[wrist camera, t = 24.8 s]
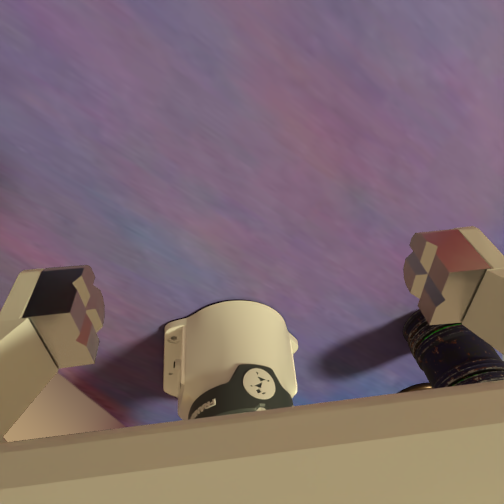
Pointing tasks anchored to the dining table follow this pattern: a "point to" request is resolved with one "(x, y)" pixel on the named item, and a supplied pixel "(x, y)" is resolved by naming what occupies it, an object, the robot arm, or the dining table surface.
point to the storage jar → (451, 353)
